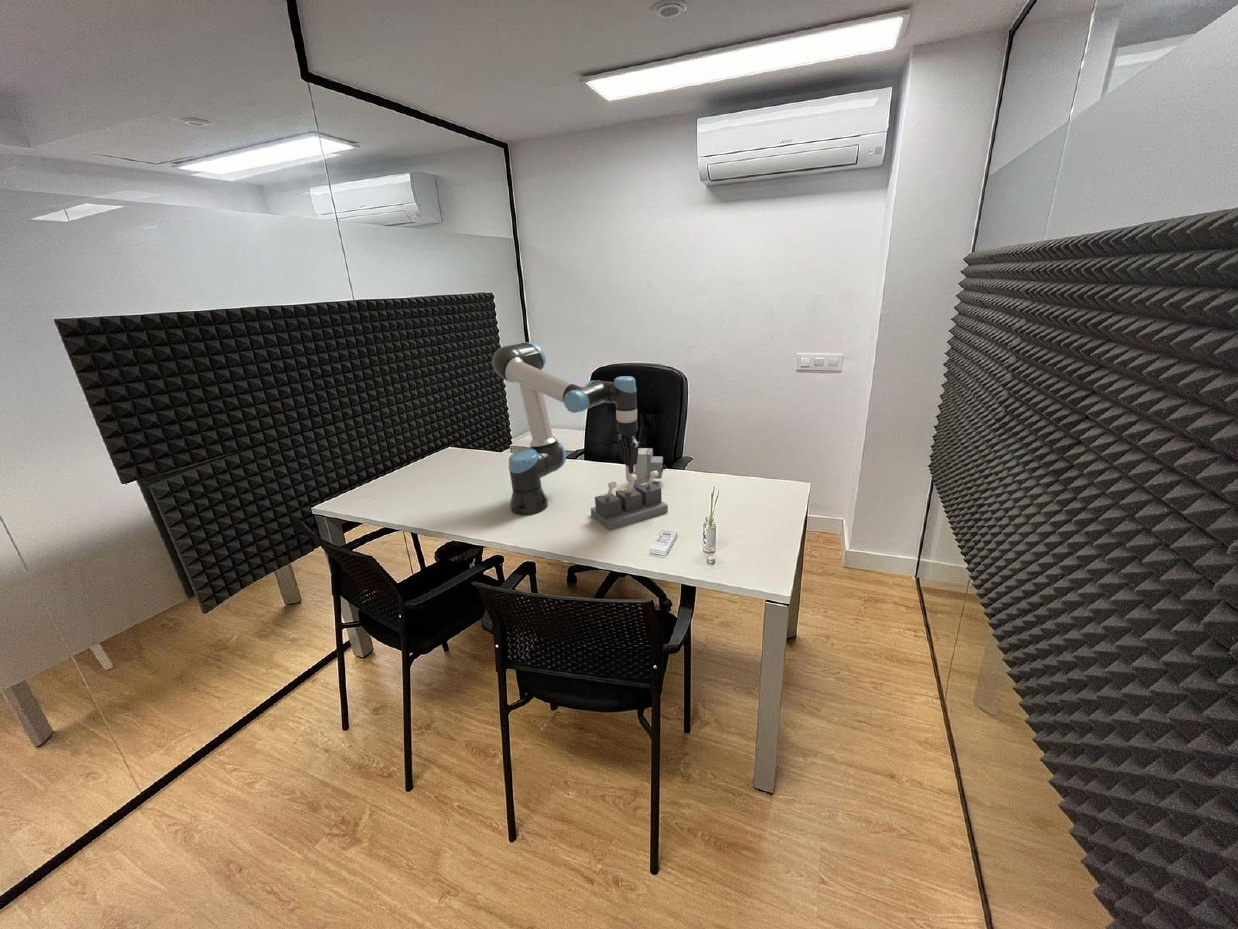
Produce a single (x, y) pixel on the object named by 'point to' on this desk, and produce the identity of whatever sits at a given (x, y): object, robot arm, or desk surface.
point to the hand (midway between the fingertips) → (630, 480)
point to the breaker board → (630, 515)
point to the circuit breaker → (647, 466)
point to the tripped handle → (631, 483)
